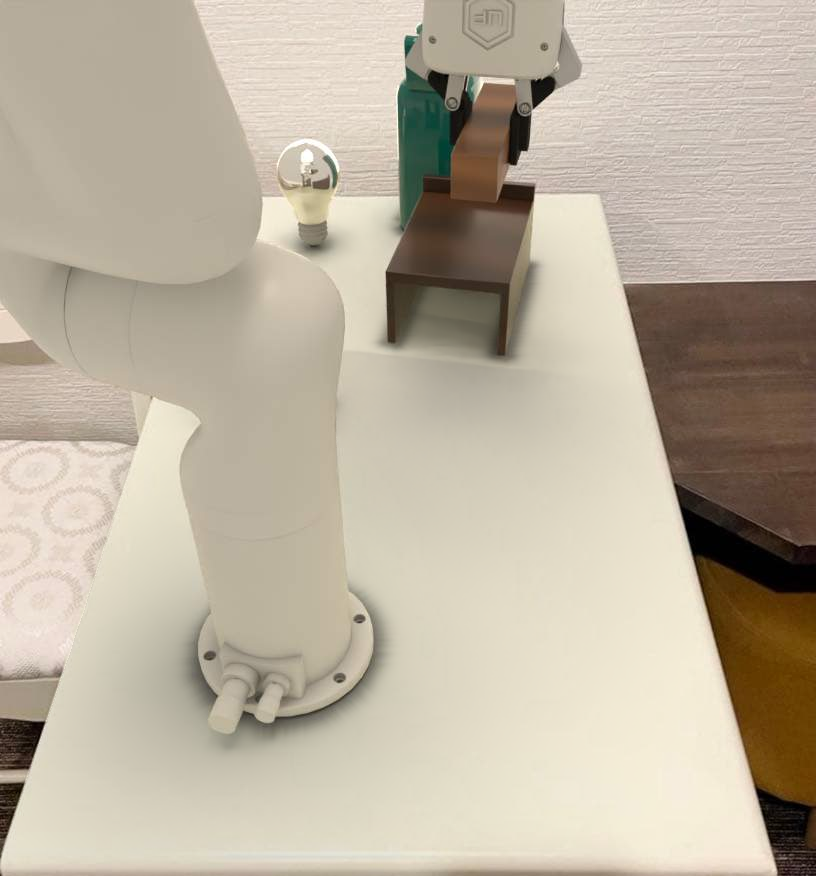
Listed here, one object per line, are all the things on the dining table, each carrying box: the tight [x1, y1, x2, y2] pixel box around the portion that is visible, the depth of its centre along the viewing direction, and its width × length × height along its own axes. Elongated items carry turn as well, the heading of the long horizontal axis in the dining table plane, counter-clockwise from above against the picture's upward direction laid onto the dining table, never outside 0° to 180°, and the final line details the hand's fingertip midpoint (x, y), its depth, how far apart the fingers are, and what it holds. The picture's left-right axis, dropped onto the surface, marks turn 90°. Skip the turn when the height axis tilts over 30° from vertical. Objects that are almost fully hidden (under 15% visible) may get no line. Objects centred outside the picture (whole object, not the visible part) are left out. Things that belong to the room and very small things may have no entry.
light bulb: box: [276, 138, 341, 248], centre depth 110 cm, size 7×7×12 cm
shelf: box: [385, 174, 536, 356], centre depth 102 cm, size 18×12×10 cm, turn 168°
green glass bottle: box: [396, 21, 484, 230], centre depth 110 cm, size 10×8×22 cm
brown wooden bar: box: [451, 82, 516, 203], centre depth 80 cm, size 14×4×4 cm, turn 167°
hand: (489, 154), depth 81 cm, fingers closed on brown wooden bar, 3 cm apart
